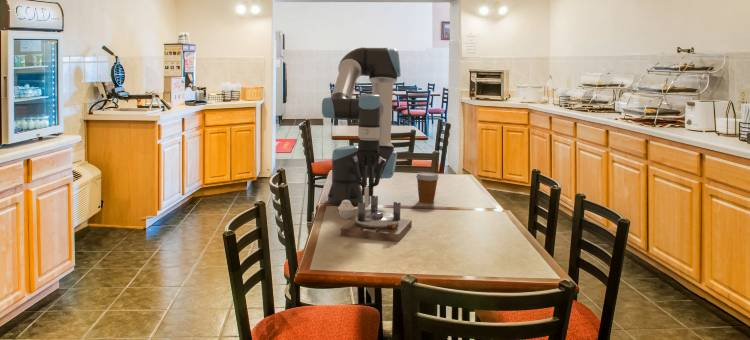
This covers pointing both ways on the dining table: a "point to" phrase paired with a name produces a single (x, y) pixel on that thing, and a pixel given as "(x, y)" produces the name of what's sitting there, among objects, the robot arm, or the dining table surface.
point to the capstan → (377, 216)
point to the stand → (376, 231)
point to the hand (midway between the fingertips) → (367, 204)
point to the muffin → (346, 209)
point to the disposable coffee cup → (427, 186)
